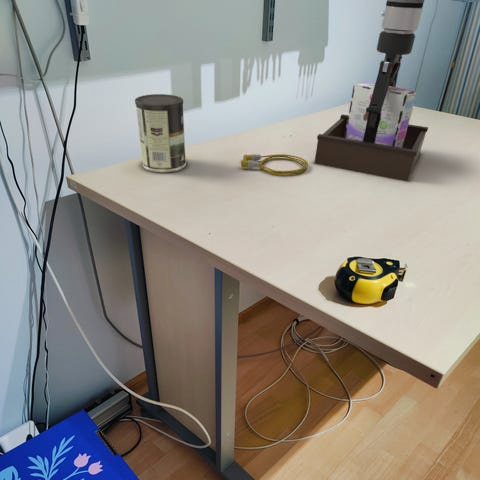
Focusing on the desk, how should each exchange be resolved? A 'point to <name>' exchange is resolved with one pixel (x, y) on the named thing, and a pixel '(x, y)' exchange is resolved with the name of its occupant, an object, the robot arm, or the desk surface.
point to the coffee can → (161, 132)
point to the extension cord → (252, 159)
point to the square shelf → (369, 152)
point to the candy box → (392, 116)
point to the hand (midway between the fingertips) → (374, 135)
